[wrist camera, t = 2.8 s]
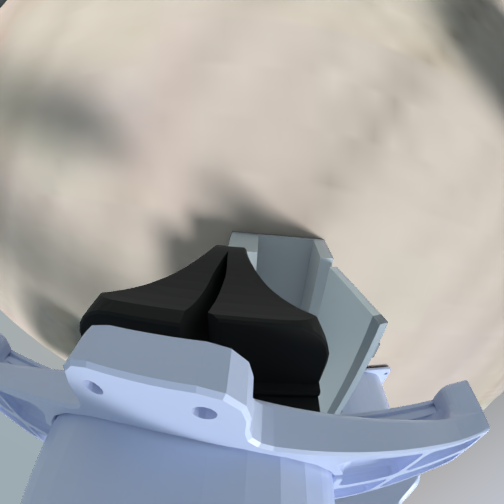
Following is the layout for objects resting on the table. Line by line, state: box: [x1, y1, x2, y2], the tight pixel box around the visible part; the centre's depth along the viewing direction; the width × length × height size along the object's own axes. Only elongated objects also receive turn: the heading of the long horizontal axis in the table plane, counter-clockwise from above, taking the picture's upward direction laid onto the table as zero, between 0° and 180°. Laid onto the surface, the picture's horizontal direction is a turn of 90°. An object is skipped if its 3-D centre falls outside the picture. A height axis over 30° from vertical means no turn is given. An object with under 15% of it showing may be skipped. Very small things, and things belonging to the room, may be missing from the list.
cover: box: [317, 267, 388, 415], centre depth 19 cm, size 13×7×1 cm
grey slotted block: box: [228, 232, 333, 317], centre depth 24 cm, size 14×8×4 cm, turn 176°
